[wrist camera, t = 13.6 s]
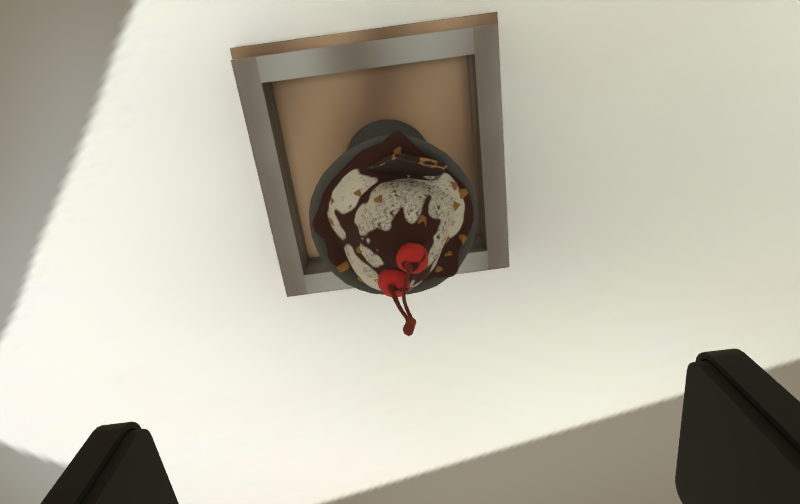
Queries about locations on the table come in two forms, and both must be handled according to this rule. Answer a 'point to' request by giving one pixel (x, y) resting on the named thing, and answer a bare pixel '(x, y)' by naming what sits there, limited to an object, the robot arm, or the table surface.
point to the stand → (366, 103)
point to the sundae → (393, 214)
